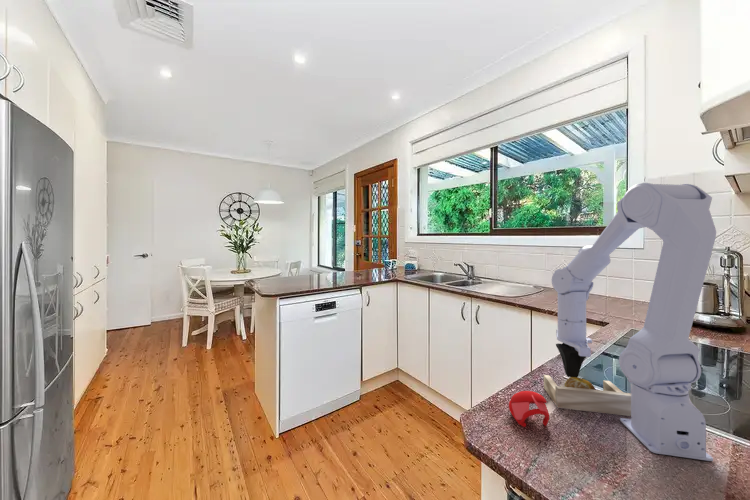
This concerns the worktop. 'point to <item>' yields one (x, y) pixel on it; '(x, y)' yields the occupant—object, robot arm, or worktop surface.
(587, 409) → the holder
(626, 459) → the worktop surface
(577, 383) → the fruit
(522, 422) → the red toy helmet
